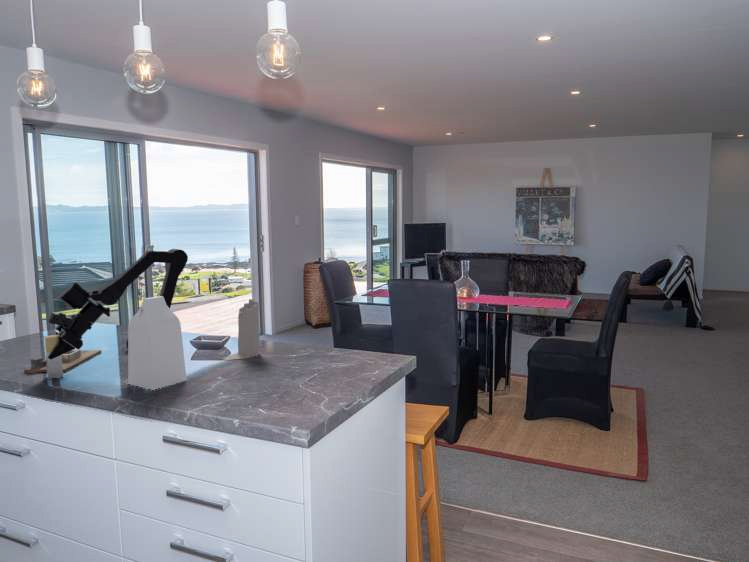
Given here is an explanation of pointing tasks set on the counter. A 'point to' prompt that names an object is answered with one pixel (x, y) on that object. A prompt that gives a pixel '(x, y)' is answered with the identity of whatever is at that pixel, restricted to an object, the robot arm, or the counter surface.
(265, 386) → the counter surface
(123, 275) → the robot arm
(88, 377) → the counter surface
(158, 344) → the milk
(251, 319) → the grey stepped bookend
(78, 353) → the shaft board
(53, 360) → the block
